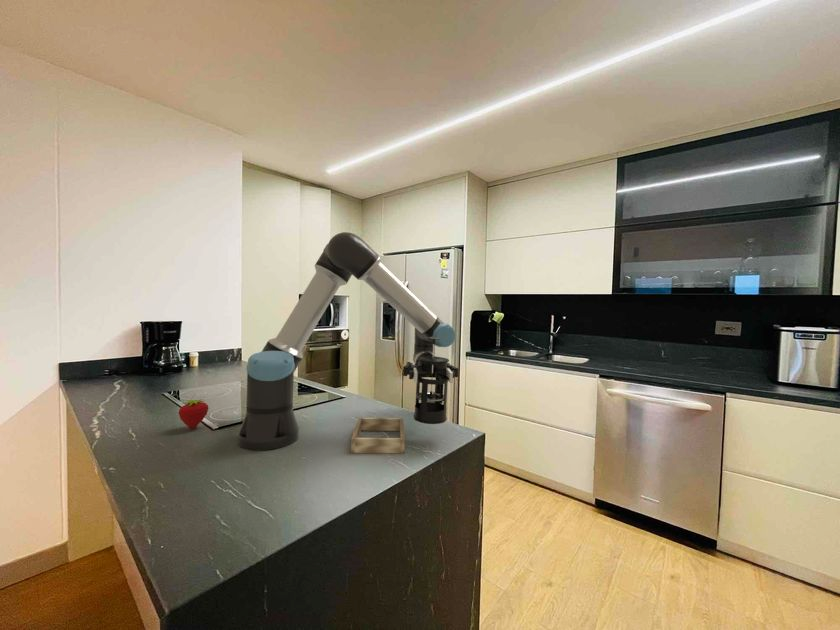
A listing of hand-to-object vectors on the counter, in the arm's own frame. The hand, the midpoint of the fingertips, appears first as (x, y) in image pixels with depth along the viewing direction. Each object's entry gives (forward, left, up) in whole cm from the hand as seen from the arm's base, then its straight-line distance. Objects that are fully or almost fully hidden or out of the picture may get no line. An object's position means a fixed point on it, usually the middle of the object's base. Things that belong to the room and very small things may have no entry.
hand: (433, 377), depth 90 cm
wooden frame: (-14, +4, -19) cm, 24 cm away
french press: (0, +5, -13) cm, 13 cm away
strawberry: (-68, +11, -19) cm, 72 cm away
